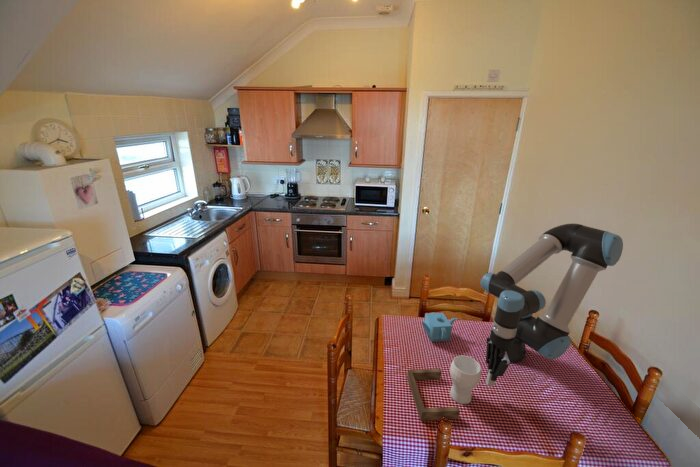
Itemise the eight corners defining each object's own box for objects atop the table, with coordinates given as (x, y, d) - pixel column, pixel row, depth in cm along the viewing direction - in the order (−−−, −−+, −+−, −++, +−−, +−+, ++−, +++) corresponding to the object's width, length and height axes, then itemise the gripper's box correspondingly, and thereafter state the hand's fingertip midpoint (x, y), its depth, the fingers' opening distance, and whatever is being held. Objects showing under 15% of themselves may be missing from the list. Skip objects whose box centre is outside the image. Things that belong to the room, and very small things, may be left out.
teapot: (414, 327, 153) (416, 308, 149) (448, 325, 155) (451, 306, 151) (425, 348, 138) (428, 328, 135) (462, 346, 140) (466, 326, 137)
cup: (477, 410, 109) (485, 378, 104) (447, 404, 111) (453, 373, 106) (472, 387, 119) (479, 356, 114) (444, 382, 121) (450, 352, 116)
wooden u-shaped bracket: (439, 376, 123) (440, 368, 122) (458, 419, 105) (459, 410, 104) (406, 377, 122) (407, 370, 121) (420, 420, 104) (421, 412, 103)
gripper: (483, 321, 112) (472, 371, 119) (503, 345, 99) (489, 399, 107) (502, 321, 112) (490, 370, 120) (524, 345, 100) (509, 398, 108)
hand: (489, 384), depth 114 cm, fingers closed
